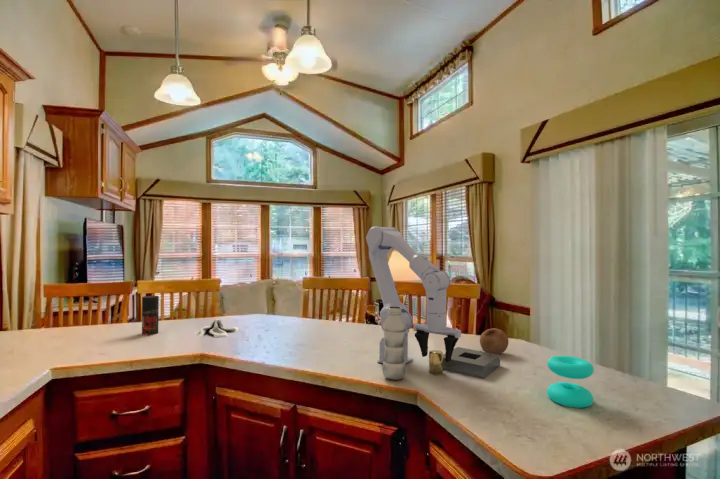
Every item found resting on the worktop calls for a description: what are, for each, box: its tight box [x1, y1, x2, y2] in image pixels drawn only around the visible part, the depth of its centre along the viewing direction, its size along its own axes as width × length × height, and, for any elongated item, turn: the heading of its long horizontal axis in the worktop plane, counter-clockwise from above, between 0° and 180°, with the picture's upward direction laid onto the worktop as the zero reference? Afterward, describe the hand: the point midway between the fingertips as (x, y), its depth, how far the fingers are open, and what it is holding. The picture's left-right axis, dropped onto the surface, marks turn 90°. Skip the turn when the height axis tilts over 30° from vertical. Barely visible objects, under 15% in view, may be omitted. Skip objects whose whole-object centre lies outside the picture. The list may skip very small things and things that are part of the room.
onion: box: [479, 327, 509, 355], centre depth 135 cm, size 10×9×10 cm
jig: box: [443, 346, 501, 379], centre depth 120 cm, size 14×14×4 cm
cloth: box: [194, 318, 239, 338], centre depth 162 cm, size 22×19×6 cm
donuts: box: [546, 355, 595, 409], centre depth 96 cm, size 10×10×10 cm
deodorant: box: [141, 295, 160, 336], centre depth 160 cm, size 6×6×15 cm
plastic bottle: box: [381, 306, 407, 380], centre depth 110 cm, size 6×7×20 cm
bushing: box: [428, 350, 444, 376], centre depth 115 cm, size 4×4×6 cm
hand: (436, 358), depth 115 cm, fingers open, 7 cm apart
